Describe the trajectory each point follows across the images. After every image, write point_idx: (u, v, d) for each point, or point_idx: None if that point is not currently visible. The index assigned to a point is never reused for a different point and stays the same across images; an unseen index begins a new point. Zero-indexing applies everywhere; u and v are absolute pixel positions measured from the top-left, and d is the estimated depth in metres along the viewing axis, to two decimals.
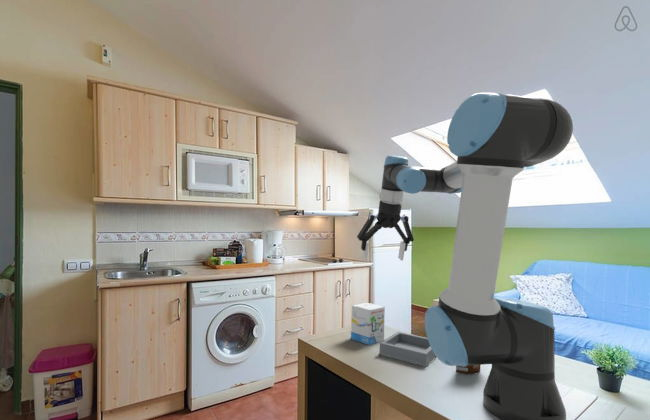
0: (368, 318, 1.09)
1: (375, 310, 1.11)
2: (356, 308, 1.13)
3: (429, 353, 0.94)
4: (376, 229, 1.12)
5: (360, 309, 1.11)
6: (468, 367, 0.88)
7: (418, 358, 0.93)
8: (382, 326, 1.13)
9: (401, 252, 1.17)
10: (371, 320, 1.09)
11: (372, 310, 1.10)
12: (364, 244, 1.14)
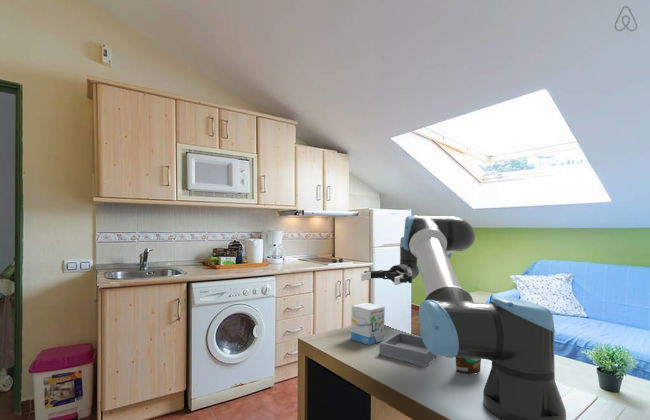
0: (368, 318, 1.09)
1: (375, 310, 1.11)
2: (356, 308, 1.13)
3: (429, 353, 0.94)
4: (381, 271, 1.34)
5: (360, 309, 1.11)
6: (468, 367, 0.88)
7: (418, 358, 0.93)
8: (382, 326, 1.13)
9: None
10: (371, 320, 1.09)
11: (372, 310, 1.10)
12: None
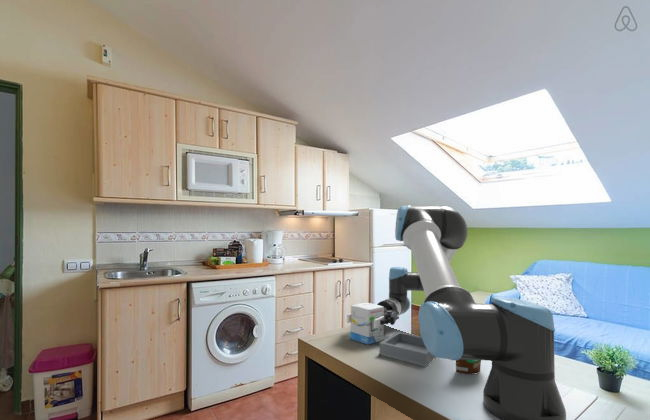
0: (367, 318, 1.09)
1: (374, 310, 1.11)
2: (355, 308, 1.13)
3: (429, 353, 0.94)
4: None
5: (359, 309, 1.12)
6: (468, 367, 0.88)
7: (418, 358, 0.93)
8: (381, 326, 1.13)
9: None
10: (370, 320, 1.09)
11: (371, 310, 1.10)
12: None
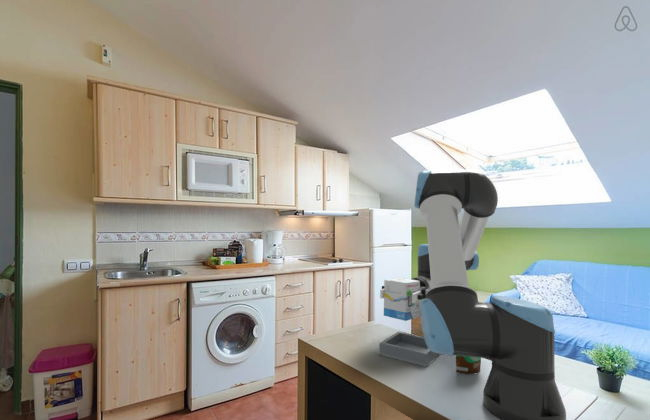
0: (404, 292, 1.00)
1: (411, 284, 1.02)
2: (390, 282, 1.04)
3: (429, 353, 0.94)
4: None
5: (394, 283, 1.03)
6: (468, 367, 0.88)
7: (418, 358, 0.93)
8: (418, 301, 1.05)
9: None
10: (407, 294, 1.00)
11: (408, 283, 1.01)
12: None
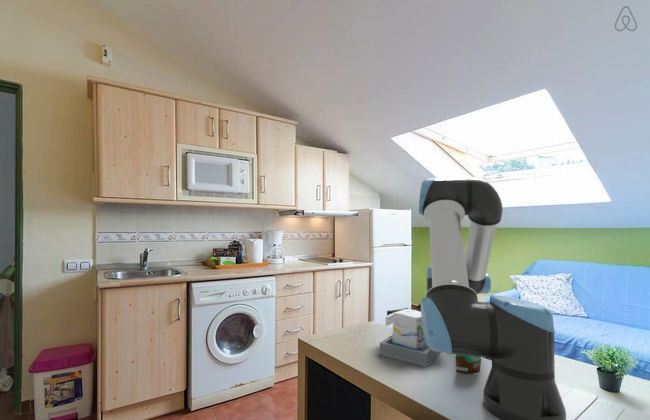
0: (414, 327, 0.97)
1: (421, 318, 0.99)
2: (399, 315, 1.01)
3: (429, 353, 0.94)
4: None
5: (404, 317, 0.99)
6: (468, 367, 0.88)
7: (418, 358, 0.93)
8: None
9: None
10: (417, 329, 0.97)
11: (418, 318, 0.98)
12: None
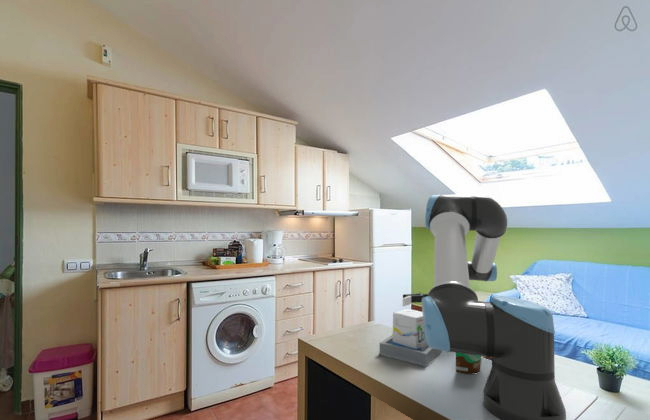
0: (414, 327, 0.97)
1: (421, 318, 0.99)
2: (399, 315, 1.01)
3: (429, 353, 0.94)
4: (421, 295, 1.22)
5: (404, 317, 0.99)
6: (468, 367, 0.88)
7: (418, 358, 0.93)
8: None
9: None
10: (417, 329, 0.97)
11: (418, 318, 0.98)
12: None
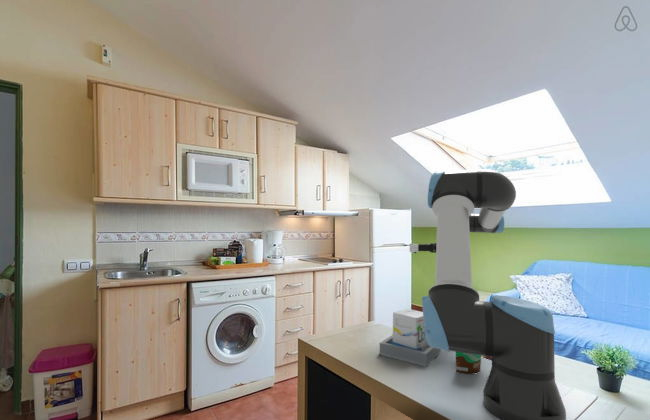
0: (414, 327, 0.97)
1: (421, 318, 0.99)
2: (399, 315, 1.01)
3: (429, 353, 0.94)
4: (428, 244, 1.22)
5: (404, 317, 0.99)
6: (468, 367, 0.88)
7: (418, 358, 0.93)
8: None
9: None
10: (417, 329, 0.97)
11: (418, 318, 0.98)
12: None
